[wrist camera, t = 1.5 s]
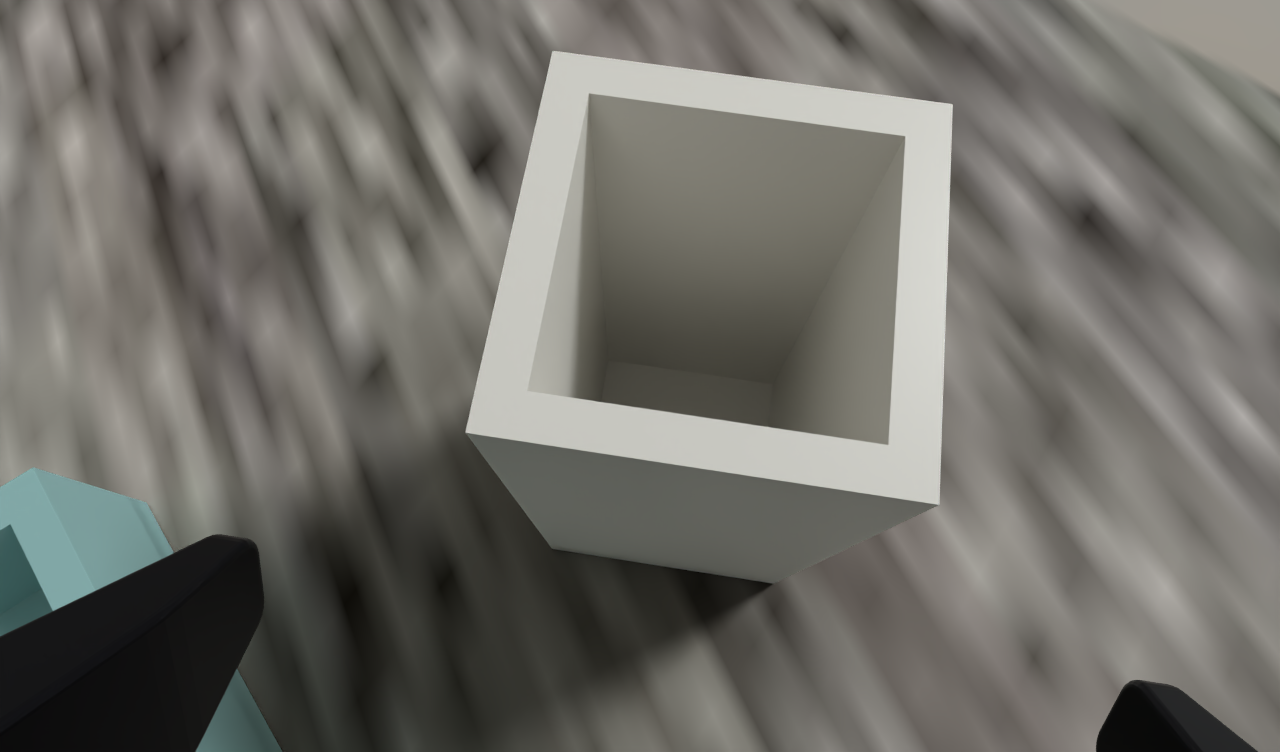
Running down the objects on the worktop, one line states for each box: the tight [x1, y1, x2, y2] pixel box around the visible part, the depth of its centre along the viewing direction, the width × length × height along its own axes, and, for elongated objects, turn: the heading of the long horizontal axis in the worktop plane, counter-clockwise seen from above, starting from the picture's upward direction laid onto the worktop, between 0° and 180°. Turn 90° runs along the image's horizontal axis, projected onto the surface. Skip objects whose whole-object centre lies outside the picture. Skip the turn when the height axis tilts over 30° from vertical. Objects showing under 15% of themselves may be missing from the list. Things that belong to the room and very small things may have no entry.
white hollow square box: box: [465, 51, 953, 584], centre depth 15 cm, size 5×5×11 cm
